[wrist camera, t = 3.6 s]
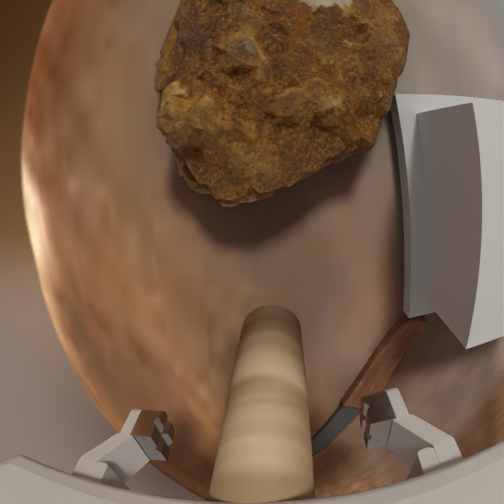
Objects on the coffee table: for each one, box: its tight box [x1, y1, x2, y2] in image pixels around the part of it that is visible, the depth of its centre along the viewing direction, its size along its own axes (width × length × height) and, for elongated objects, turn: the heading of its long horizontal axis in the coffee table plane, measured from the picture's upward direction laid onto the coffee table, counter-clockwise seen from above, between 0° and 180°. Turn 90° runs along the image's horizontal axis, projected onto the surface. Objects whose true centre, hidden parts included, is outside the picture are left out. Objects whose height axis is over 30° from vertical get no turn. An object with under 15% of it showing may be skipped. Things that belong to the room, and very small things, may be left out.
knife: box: [311, 316, 427, 456], centre depth 19 cm, size 17×1×3 cm
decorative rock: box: [154, 0, 410, 208], centre depth 12 cm, size 11×4×15 cm
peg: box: [207, 305, 315, 503], centre depth 12 cm, size 3×3×12 cm
